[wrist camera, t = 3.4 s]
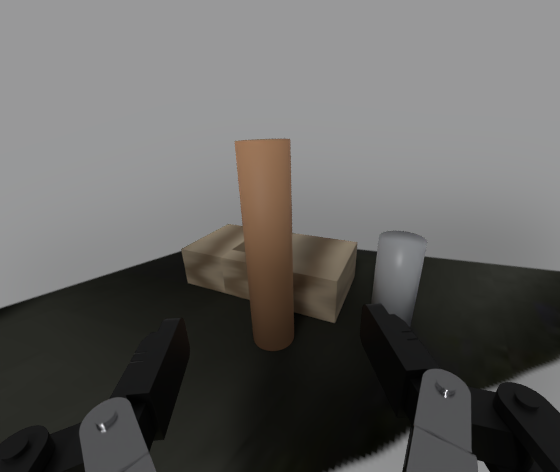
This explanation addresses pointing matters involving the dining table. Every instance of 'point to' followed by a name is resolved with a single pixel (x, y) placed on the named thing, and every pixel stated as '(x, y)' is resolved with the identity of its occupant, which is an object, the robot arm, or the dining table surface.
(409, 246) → the short dowel
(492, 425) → the robot arm
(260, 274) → the long dowel
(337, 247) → the wooden block with hole
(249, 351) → the dining table surface
